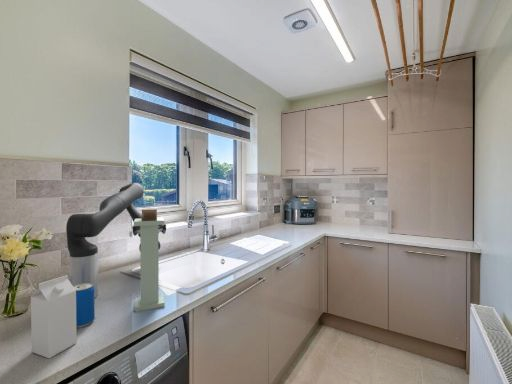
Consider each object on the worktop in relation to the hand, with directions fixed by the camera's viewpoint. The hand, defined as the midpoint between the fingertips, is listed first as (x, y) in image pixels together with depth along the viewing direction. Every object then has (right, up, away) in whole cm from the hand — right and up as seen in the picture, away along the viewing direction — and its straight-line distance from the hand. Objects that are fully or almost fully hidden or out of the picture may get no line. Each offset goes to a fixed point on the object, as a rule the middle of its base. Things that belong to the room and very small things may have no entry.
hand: (149, 223), depth 113 cm
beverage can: (-9, -29, -30) cm, 43 cm away
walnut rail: (+6, +4, -14) cm, 16 cm away
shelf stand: (+7, -28, -17) cm, 34 cm away
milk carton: (-8, -29, -43) cm, 52 cm away
